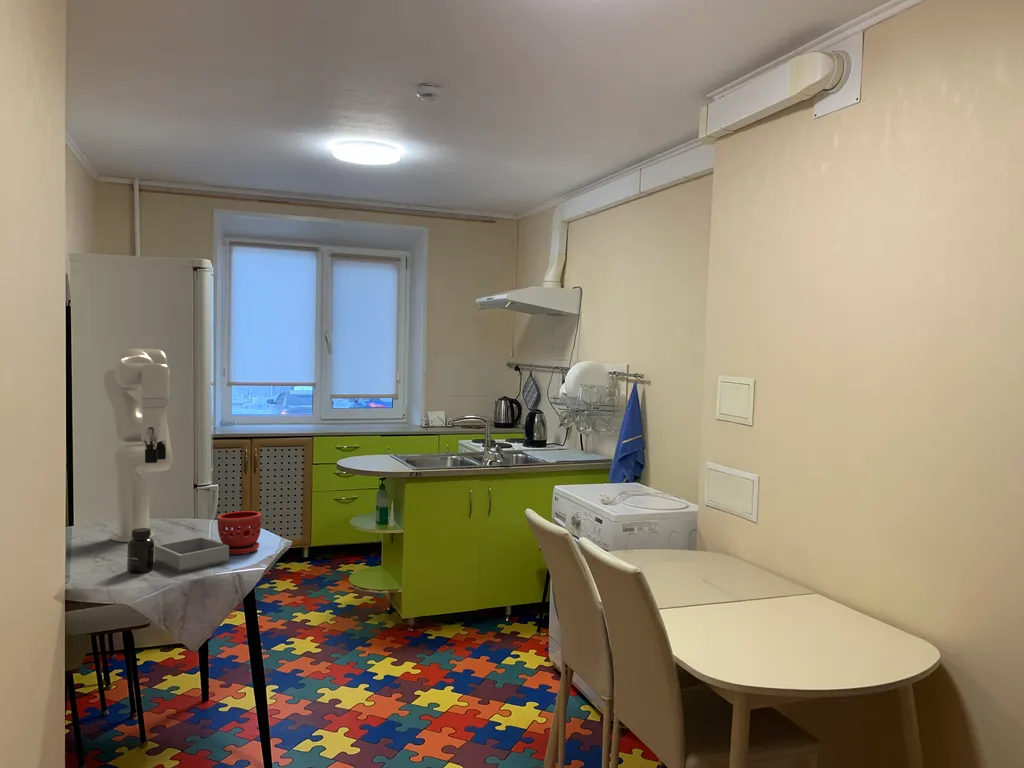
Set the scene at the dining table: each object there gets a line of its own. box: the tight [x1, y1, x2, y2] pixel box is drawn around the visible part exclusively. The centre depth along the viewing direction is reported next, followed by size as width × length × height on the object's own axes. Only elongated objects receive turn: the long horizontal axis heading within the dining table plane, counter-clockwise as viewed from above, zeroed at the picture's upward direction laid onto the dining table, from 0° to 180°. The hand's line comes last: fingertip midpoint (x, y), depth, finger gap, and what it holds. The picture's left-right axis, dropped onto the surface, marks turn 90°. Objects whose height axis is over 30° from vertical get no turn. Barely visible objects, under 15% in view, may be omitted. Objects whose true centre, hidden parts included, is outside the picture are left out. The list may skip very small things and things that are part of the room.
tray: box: [154, 536, 230, 574], centre depth 213 cm, size 16×15×5 cm
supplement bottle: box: [126, 527, 155, 575], centre depth 203 cm, size 7×7×12 cm
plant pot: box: [217, 510, 262, 555], centre depth 225 cm, size 13×13×12 cm
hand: (155, 461), depth 212 cm, fingers open, 9 cm apart
